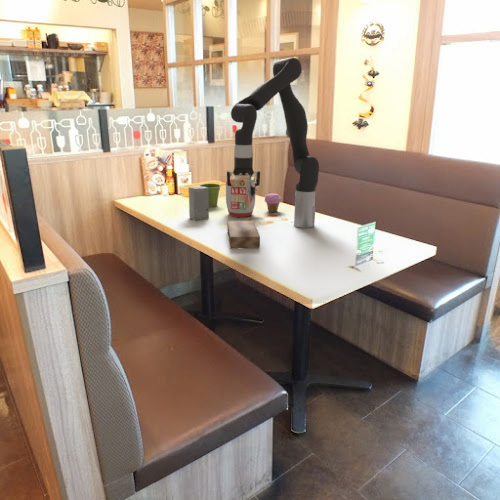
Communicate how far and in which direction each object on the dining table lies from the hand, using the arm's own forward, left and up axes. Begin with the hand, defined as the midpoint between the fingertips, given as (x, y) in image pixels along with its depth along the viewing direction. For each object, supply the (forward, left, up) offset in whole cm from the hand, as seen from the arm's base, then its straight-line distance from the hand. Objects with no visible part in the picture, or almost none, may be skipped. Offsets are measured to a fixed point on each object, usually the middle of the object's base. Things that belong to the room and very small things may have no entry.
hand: (243, 195), depth 187 cm
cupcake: (-20, -48, -19) cm, 55 cm away
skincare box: (+19, -36, -19) cm, 45 cm away
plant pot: (+13, -63, -19) cm, 67 cm away
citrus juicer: (-3, -42, -19) cm, 46 cm away
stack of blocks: (0, 0, -4) cm, 4 cm away
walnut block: (0, 0, -19) cm, 19 cm away
